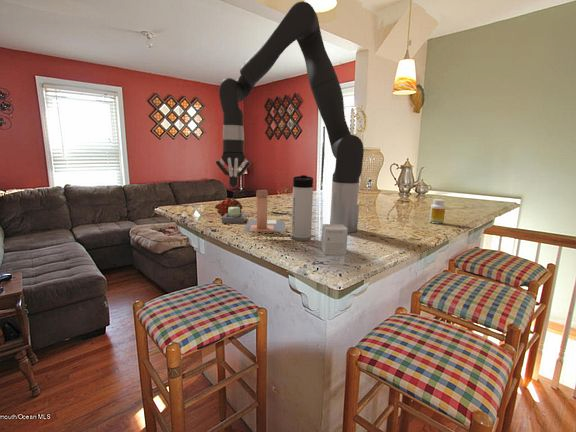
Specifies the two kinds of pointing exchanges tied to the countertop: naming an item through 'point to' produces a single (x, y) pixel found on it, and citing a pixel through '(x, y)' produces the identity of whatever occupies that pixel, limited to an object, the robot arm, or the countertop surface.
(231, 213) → the button
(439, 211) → the supplement bottle
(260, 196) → the tan tall block
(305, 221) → the travel mug
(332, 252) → the product box
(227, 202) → the dragon fruit
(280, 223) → the board
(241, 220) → the button housing
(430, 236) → the countertop surface
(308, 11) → the robot arm
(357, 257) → the countertop surface
